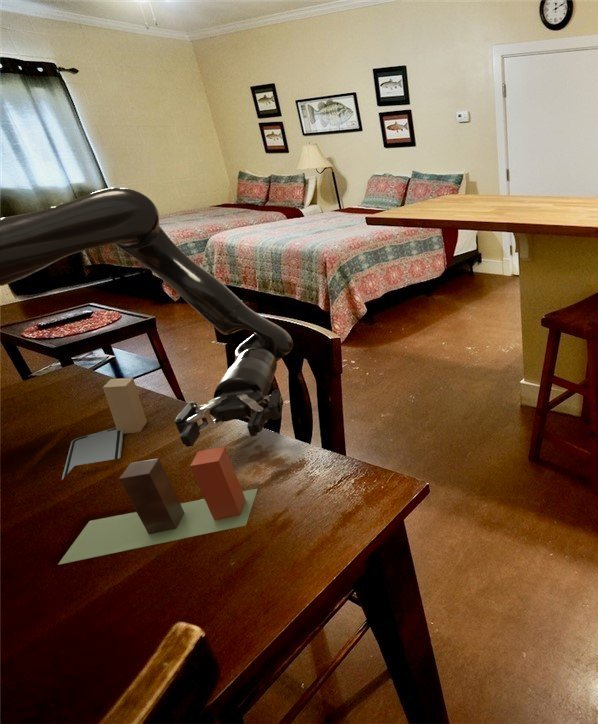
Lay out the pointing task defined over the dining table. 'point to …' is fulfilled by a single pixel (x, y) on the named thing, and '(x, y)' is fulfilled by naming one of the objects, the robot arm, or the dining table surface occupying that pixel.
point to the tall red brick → (218, 483)
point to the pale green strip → (132, 533)
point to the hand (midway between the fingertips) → (219, 436)
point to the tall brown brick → (152, 495)
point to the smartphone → (94, 448)
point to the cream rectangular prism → (125, 405)
